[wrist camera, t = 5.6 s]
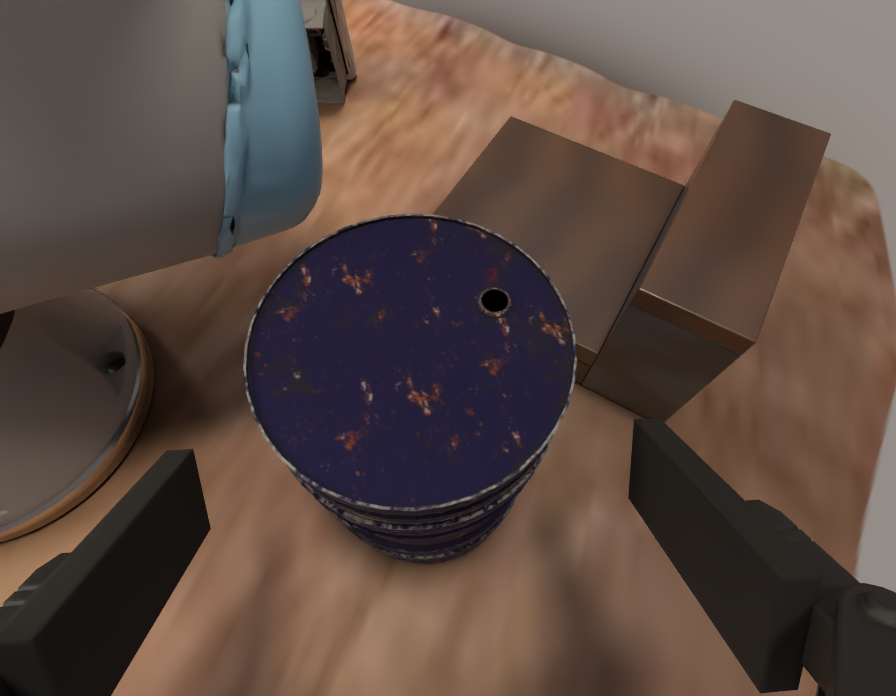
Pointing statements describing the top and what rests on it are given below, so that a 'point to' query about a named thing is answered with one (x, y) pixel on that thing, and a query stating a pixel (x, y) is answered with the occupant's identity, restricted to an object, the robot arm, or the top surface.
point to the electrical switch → (328, 48)
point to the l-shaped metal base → (651, 245)
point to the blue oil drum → (412, 378)
